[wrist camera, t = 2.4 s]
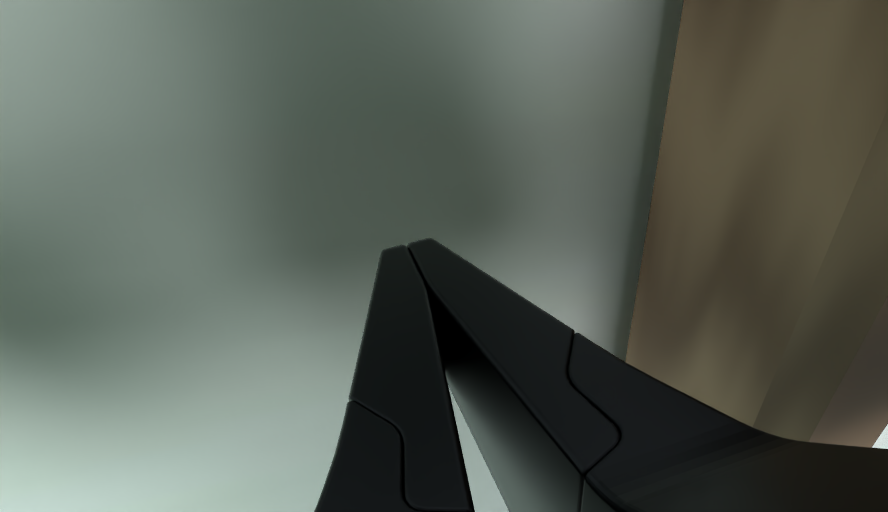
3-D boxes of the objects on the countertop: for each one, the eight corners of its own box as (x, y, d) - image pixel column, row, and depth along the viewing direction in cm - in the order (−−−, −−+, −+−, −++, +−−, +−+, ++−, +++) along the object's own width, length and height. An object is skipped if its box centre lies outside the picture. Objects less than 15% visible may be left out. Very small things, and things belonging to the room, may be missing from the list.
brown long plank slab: (656, 412, 19) (778, 584, 15) (606, 428, 18) (716, 609, 14) (814, -261, 8) (1398, -330, 4) (705, -248, 8) (1216, -306, 4)
